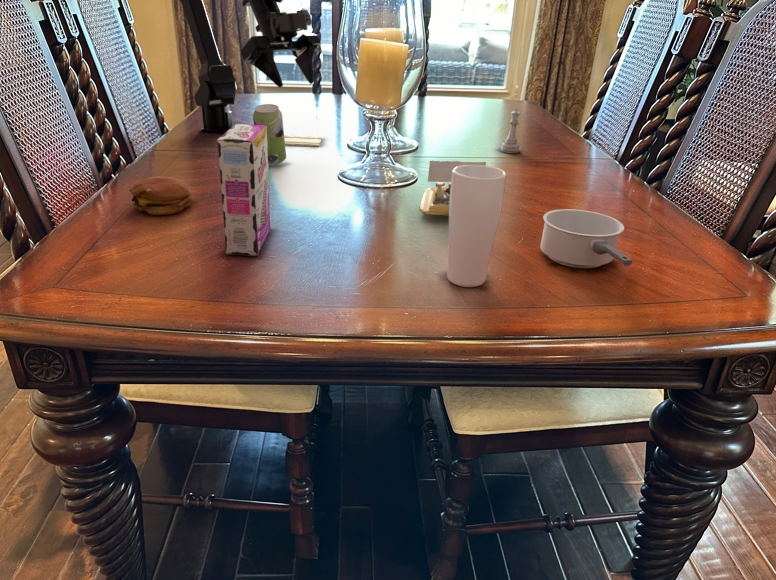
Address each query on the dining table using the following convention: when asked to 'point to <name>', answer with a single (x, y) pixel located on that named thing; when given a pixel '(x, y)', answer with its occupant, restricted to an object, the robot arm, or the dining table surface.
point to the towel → (302, 141)
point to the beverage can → (272, 131)
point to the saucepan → (582, 238)
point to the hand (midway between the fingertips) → (297, 84)
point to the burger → (161, 195)
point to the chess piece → (512, 135)
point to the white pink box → (245, 188)
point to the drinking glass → (473, 221)
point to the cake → (440, 187)
